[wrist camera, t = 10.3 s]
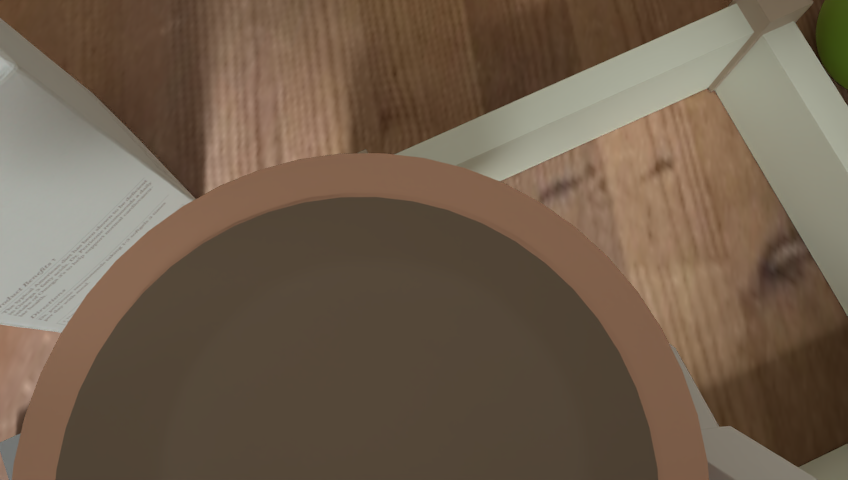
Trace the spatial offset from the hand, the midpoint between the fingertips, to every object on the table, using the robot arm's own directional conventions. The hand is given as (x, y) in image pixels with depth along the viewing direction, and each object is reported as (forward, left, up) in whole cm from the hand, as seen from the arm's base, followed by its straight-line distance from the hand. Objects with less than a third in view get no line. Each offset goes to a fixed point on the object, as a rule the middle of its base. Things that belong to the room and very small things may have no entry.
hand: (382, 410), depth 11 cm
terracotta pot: (-1, 0, -5) cm, 5 cm away
